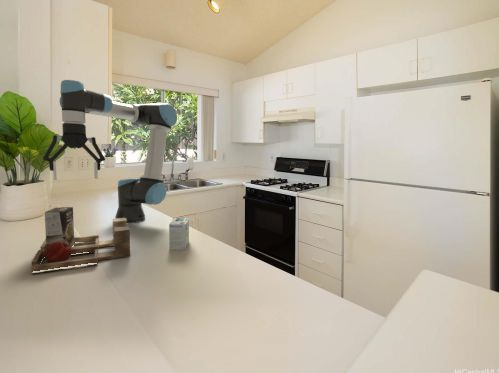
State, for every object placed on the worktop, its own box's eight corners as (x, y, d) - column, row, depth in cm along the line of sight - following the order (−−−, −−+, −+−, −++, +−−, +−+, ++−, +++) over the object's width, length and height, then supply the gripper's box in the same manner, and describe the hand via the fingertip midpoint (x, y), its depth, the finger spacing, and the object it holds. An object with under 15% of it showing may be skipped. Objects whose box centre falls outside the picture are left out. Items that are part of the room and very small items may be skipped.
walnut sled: (31, 274, 86) (29, 242, 85) (40, 258, 98) (38, 230, 96) (131, 260, 99) (130, 233, 98) (128, 247, 111) (127, 223, 109)
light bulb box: (173, 241, 122) (173, 217, 120) (189, 241, 122) (189, 217, 121) (168, 250, 111) (168, 223, 110) (185, 250, 112) (186, 224, 110)
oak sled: (40, 257, 98) (38, 230, 97) (47, 245, 110) (45, 221, 109) (128, 247, 111) (127, 223, 110) (125, 237, 123) (125, 215, 122)
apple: (63, 268, 91) (62, 245, 90) (38, 268, 91) (36, 244, 90) (75, 259, 99) (74, 237, 97) (52, 259, 98) (51, 237, 97)
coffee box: (65, 254, 103) (63, 211, 101) (46, 255, 101) (43, 211, 99) (75, 246, 112) (73, 206, 110) (57, 246, 110) (55, 206, 108)
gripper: (108, 126, 116) (109, 177, 119) (32, 120, 101) (36, 178, 104) (112, 125, 110) (113, 178, 113) (32, 119, 95) (36, 181, 98)
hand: (76, 179), depth 108 cm, fingers open, 13 cm apart
